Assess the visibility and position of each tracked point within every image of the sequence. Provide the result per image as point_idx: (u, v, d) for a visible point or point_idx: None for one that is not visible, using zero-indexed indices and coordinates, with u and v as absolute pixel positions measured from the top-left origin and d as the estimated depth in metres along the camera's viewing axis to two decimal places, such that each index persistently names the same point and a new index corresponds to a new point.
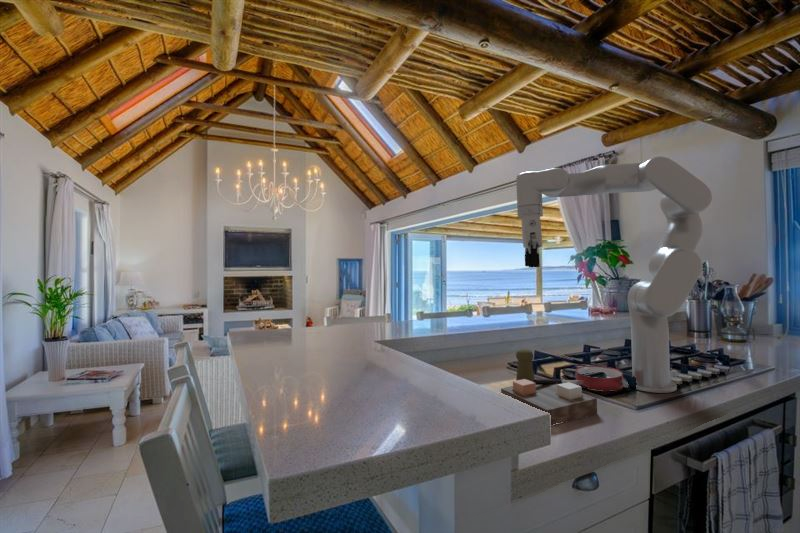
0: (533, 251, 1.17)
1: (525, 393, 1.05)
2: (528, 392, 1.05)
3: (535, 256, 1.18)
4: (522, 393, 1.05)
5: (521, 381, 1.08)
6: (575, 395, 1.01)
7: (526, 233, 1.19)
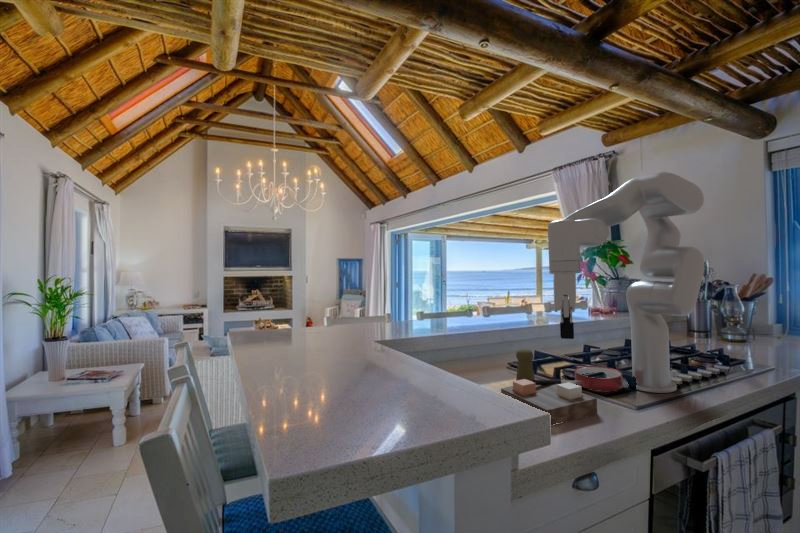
0: None
1: (525, 393, 1.05)
2: (528, 392, 1.05)
3: None
4: (522, 393, 1.05)
5: (521, 381, 1.08)
6: (575, 395, 1.01)
7: None
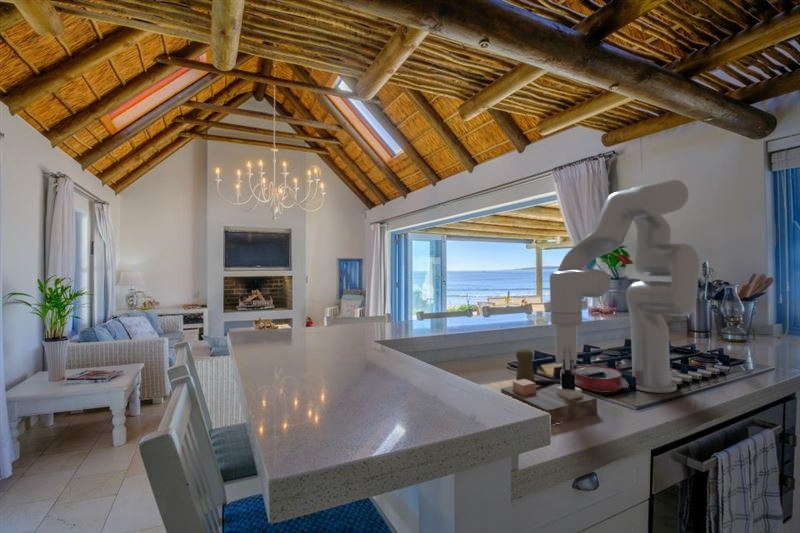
0: None
1: (525, 393, 1.05)
2: (528, 392, 1.05)
3: None
4: (522, 393, 1.05)
5: (521, 381, 1.08)
6: (575, 397, 1.01)
7: None
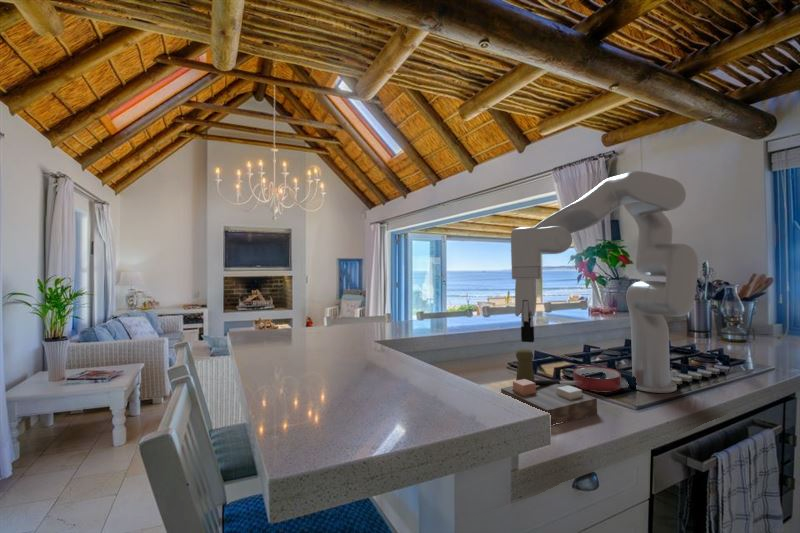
0: None
1: (525, 393, 1.05)
2: (528, 392, 1.05)
3: None
4: (522, 393, 1.05)
5: (521, 381, 1.08)
6: None
7: None
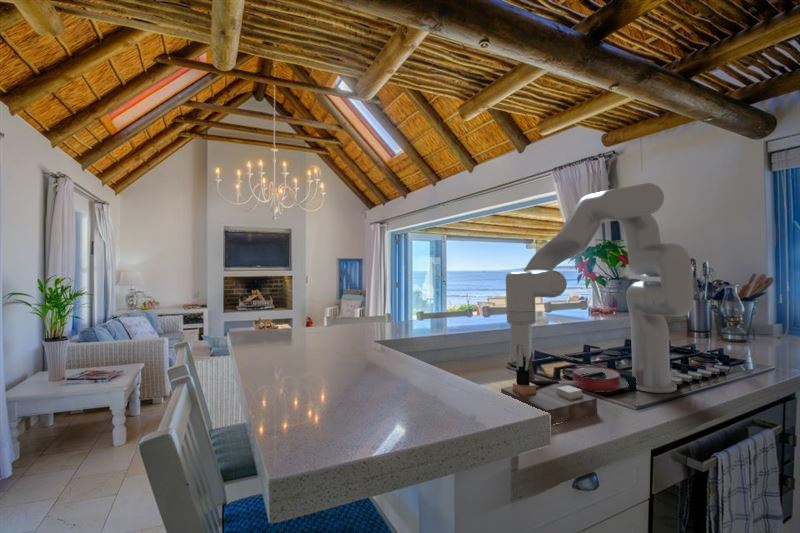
0: None
1: None
2: None
3: None
4: None
5: None
6: None
7: None
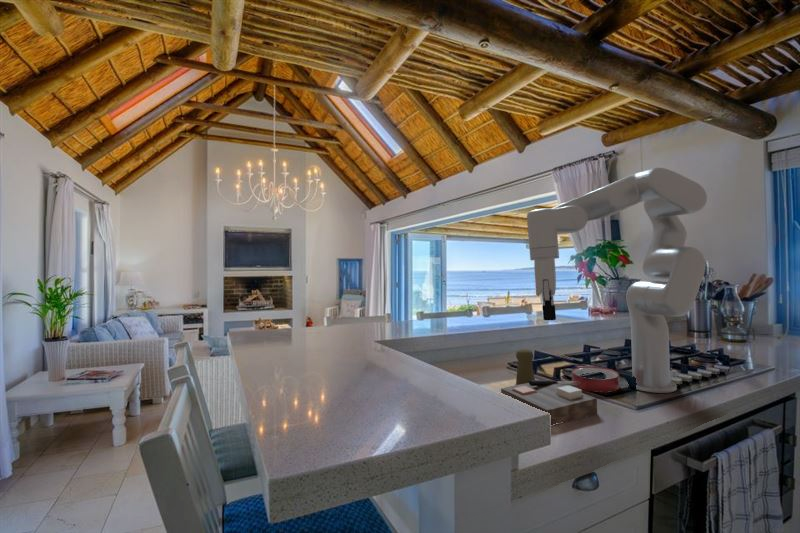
0: None
1: None
2: None
3: None
4: None
5: (522, 389, 1.08)
6: None
7: None
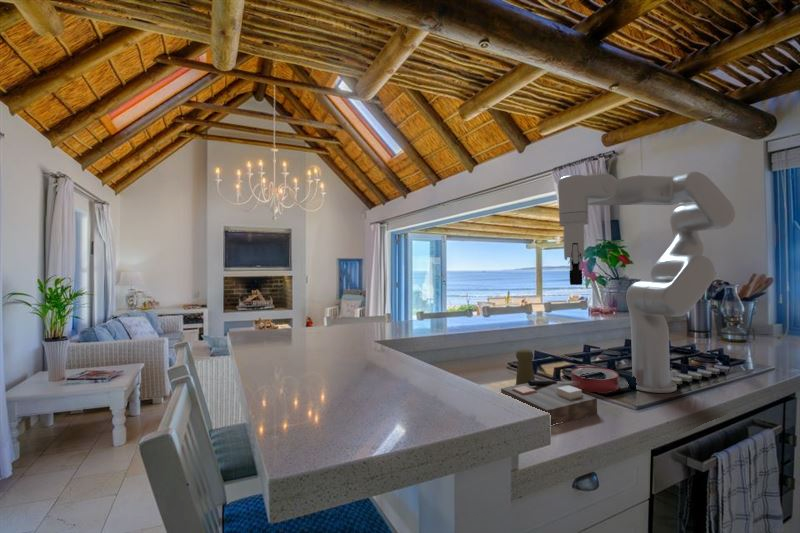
0: None
1: None
2: None
3: None
4: None
5: (522, 389, 1.08)
6: None
7: None
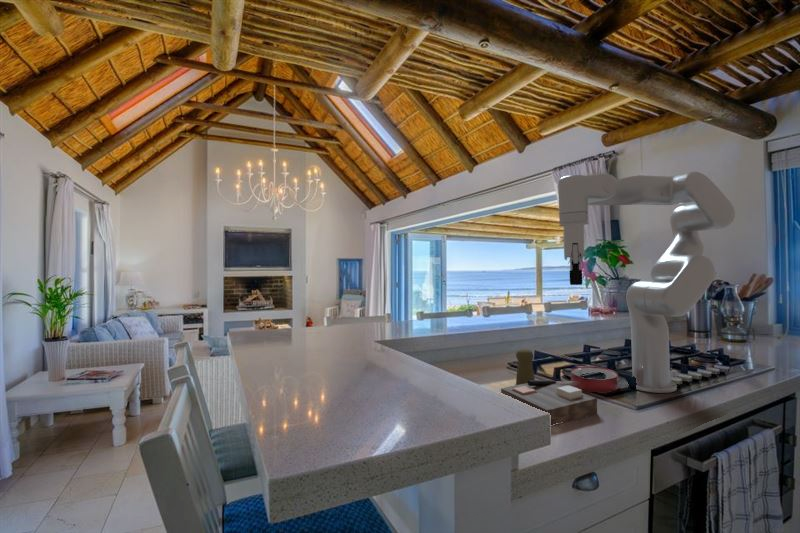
0: None
1: None
2: None
3: None
4: None
5: (522, 389, 1.08)
6: None
7: None
